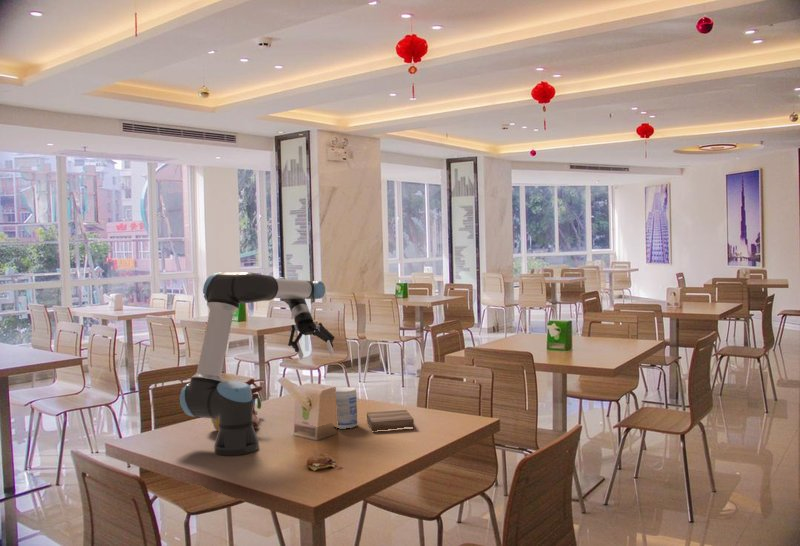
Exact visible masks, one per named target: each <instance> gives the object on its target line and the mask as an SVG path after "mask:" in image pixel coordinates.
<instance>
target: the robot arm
mask: <svg viewBox="0 0 800 546" xmlns="http://www.w3.org/2000/svg"><path fill="white" fill-rule="evenodd" d="M325 285H326V284H325V283H324V282H323V280H322V281H321V280H304V279H303V280H301V279H290V278H289V279H288V278H286V277H283V276H282V277H278V278H275V277H274V276H272V275H268V274H267V275H266V274H261V273H255V272H250V271H243V272H242V271H239V272H238V271H233V272H232V271H231V272H230V271H229V272H226V271H220V272H215V273H212V274H211V275H209V276H208V277H207V279H206V280H205V282H204V283H203V289H202V294H203V298H204V299H205V301H206V306H207V307H208V309H209V312H208V316H207V322H206V327H205V331H204V337H203V341H202V346H201V351H200V355H199V360H198V365H197V370H196V373H195V374H194V375H192V376H191V377H190V383H187V384H185V385H184V386H183V387H182V389H181V391H180V395H179V402H180V404H179V405H180V407H181V408H182V411H183V412H184V413H185V414H186V415H187V416H189V417H193V418H197V419H200V418H203V419H204V418H206V419H211V418H214V419H219V431H218V432H217V435H216V438H215V441H214V446H213V448H214V453H215V454H216V455H220V456H227V457H228V456H230V457H231V456H241V455H246V454H251V453H254V452H256V451H257V450H258V449H259V447H260V446H259V445H260V442H259V439H258V436H257V433H256V431H255V428H253V413H252V392H251V388H252V387H251V385H250V386H249V385H248V384H246V382H242V381H238V380H233V381H232V380H226V381H224V380H223V379H222V377H221V376H222V372H223V366H224V362H225V357H226V351H227V347H228V342H229V337H230V332H231V326H232V322H233V317H234V314H236V313H237V312H238V311H239V308H240V304H251V303H257V302H266V301H272V300H274V299H281V300H282V301H283V302H285V303H286V304H287V305H288V308H289V310H290V312H291V315H292V318H293V320H294V324H295V325H294V324H292V325H291V326H290V336H289V340H288V344H287V346H288V347H291V346H292V347H291V348H292V349H293V350H294V352H295V353H297V354H298V357H299V359H300V360H303V358H304V352H303V350H302V348H301V345H300V342H299V341H300V340H301V338H302V336H303V335H304V336H312V335H313V336H315V337H317V338H319V339H320V340H322V341H323V342H325V343H326V344H325V345H326V347H327V350H328V353H329V356H330V357H333V355H334V354H335V351H334V344H333V342H334V340H335V336H334V335H333V334H332V333H331V332H330V331H329V330H328V329H327V328H326V327H325V326H323V323H322V322H319V323H317V324H315V322H314V319H313V316H312V314H311V311H310V309H309V307H308V304H307V301H306V300H318V299H323V298H324V297H325V294H326V287H325ZM296 330H297V332H299V333H298V334H297V336H296V337H295V339H294V336H295V332H296ZM293 340H294V341H293Z"/></svg>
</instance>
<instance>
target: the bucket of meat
mask: <svg viewBox="0 0 800 546" xmlns="http://www.w3.org/2000/svg"><path fill="white" fill-rule="evenodd" d="M245 383H246V384H248V385H249V386H250V387H251V385H253V384H254V383H255V379H254V378H250V379H249V380H247V381H246V382H245ZM262 389H263V387H262V386H260V385H258V386H256V387H253V388H252V387H251V392H252V400H253V399H255V400H257V398H258V397H259V398H260V394H259V392H261V391H262ZM252 413H253V428H254V429H257V428H259V427H260V425H259V417H258V416H257V415H258V411H257V410H255V408H254V407H253V401H252ZM210 419H211V423H212V424H213V425H212V426H213V427H214V429H215V431H219V419H214V418H210Z"/></svg>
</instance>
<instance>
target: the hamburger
mask: <svg viewBox="0 0 800 546" xmlns="http://www.w3.org/2000/svg"><path fill="white" fill-rule="evenodd" d="M336 463H337V462H336V460H334V459H333V458H332V456H330V454H327V453H315V454H312V455H311V456H310V457H309V458H308V459H307V460H306V465H307V467H308V468H309V469H310V470H312V471H314V472H315V471H318V470H321V471H322V470H325V469H326V470H327V469H328V468H330V467H333V468H336V469H337V470H339V469H343V468H344V467H343V466H342V467H341V466H340V465H337V466H336Z"/></svg>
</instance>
